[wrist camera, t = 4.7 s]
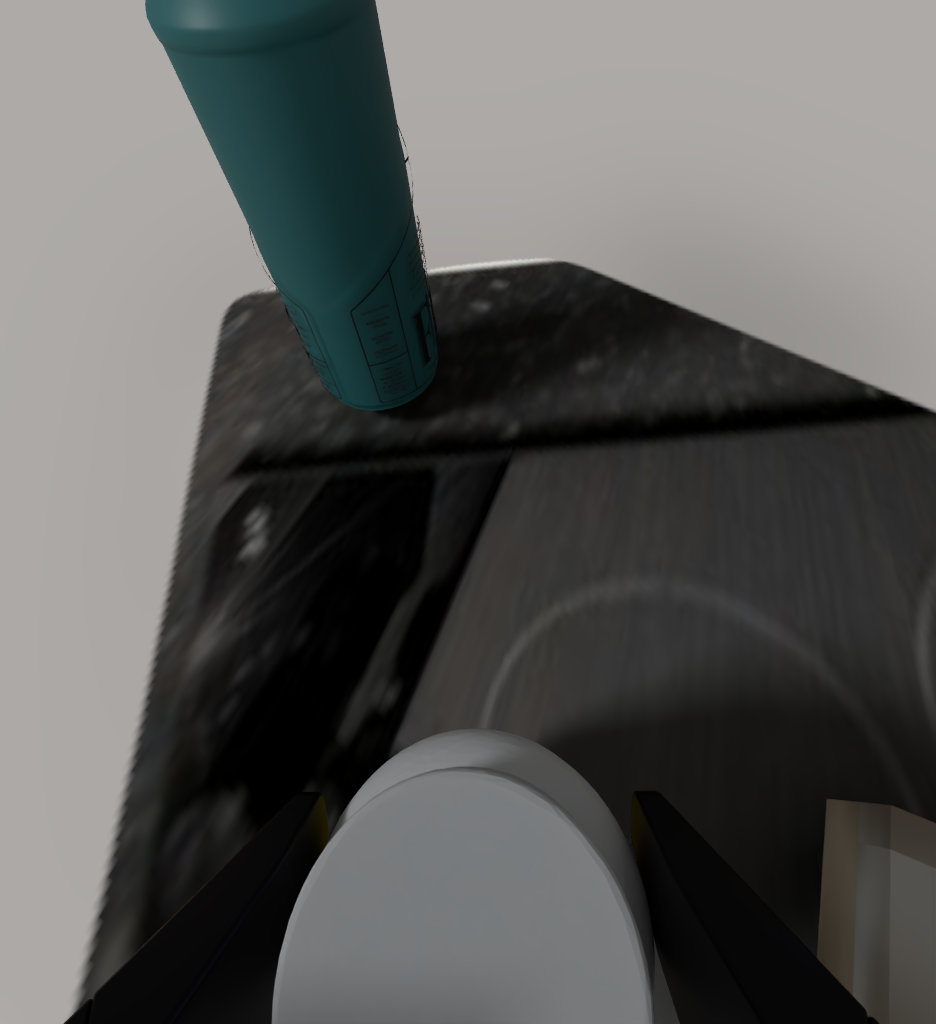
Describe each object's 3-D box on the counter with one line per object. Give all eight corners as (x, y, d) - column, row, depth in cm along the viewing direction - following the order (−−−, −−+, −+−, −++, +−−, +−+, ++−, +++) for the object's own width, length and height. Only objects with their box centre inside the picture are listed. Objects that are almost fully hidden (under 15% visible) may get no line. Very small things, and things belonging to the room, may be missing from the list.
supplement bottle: (491, 707, 15) (474, 620, 7) (628, 858, 13) (862, 1018, 5) (358, 845, 14) (111, 965, 5) (488, 1044, 11) (444, 1826, 3)
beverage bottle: (451, 424, 25) (320, -409, 7) (326, 441, 25) (-106, -348, 7) (439, 338, 28) (330, -386, 10) (329, 354, 28) (32, -344, 10)
